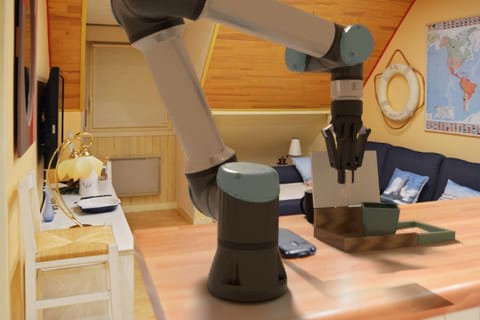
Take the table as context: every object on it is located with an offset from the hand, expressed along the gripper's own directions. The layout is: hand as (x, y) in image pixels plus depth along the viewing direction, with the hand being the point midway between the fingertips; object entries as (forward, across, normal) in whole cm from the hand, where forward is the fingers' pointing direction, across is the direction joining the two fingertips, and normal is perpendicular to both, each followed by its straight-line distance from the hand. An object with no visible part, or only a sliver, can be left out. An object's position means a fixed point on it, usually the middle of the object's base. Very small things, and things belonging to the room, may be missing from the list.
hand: (345, 197), depth 112 cm
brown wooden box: (+12, +6, 0) cm, 13 cm away
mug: (+12, +4, +21) cm, 25 cm away
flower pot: (+12, +10, 0) cm, 15 cm away
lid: (+4, +6, +7) cm, 10 cm away
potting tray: (+12, +21, 0) cm, 24 cm away
